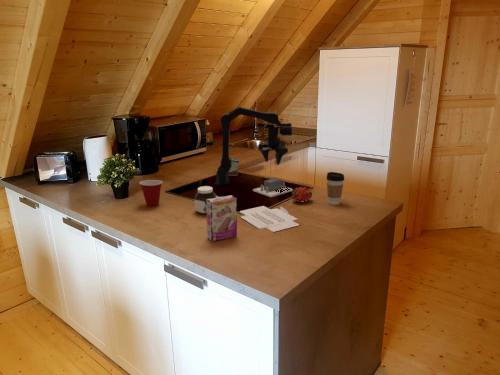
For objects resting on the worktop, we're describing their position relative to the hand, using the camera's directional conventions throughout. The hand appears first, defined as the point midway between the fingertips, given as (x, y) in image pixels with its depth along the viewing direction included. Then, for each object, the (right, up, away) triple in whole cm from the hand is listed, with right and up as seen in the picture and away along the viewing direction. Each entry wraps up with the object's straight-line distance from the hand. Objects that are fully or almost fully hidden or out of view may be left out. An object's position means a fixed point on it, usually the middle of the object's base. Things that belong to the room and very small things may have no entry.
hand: (272, 163), depth 223 cm
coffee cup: (+29, -21, -28) cm, 45 cm away
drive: (0, -14, -9) cm, 17 cm away
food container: (-25, -5, +24) cm, 35 cm away
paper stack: (-4, -28, -46) cm, 54 cm away
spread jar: (-32, -25, -37) cm, 54 cm away
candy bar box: (-24, -34, -65) cm, 77 cm away
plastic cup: (-60, -22, -28) cm, 70 cm away
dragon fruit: (+13, -21, -25) cm, 35 cm away
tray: (0, -15, -9) cm, 18 cm away
